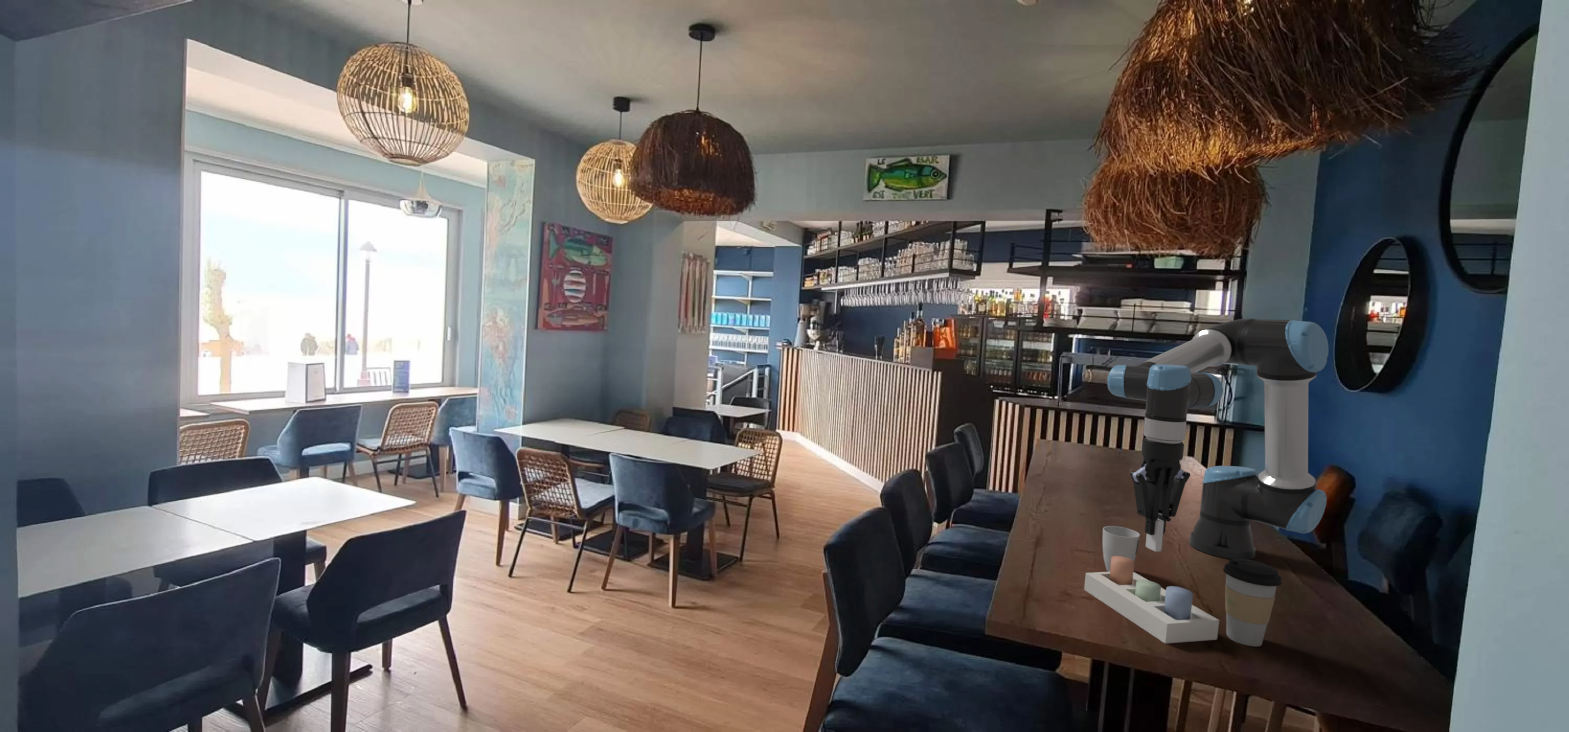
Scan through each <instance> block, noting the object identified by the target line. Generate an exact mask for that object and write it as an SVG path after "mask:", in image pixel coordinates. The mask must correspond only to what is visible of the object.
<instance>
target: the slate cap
mask: <svg viewBox="0 0 1569 732" xmlns="http://www.w3.org/2000/svg"><path fill="white" fill-rule="evenodd" d="M1165 588H1166V589H1165V590H1166V596H1165V605H1164V613H1165V614H1167V615H1168V616H1170V617H1172V618H1173V619H1176V620H1189V619H1190V617H1191V608H1192V605H1193V597H1194V594H1193V592H1192V591H1190V590H1189V589H1186V588H1183V587H1180V586H1175V585H1174V586H1173V585H1170V586H1167V587H1165Z"/></svg>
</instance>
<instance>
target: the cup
mask: <svg viewBox="0 0 1569 732" xmlns="http://www.w3.org/2000/svg"><path fill="white" fill-rule="evenodd" d="M1140 536H1141V534H1140V533H1139V532H1138V531H1136V530H1133V529H1130V528H1128V527H1124V526H1116V525H1108V526H1107V525H1106V526H1104V527H1103V528H1102V554H1103V555H1102V556H1103V562H1104V565H1105V569H1106V572H1110V567H1111V557H1113V556H1121V557H1126V558H1129V559H1131V560H1133V561H1134V562H1135V560H1136V556H1137V554H1138V549H1139V541H1140Z"/></svg>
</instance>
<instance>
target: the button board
mask: <svg viewBox="0 0 1569 732" xmlns="http://www.w3.org/2000/svg"><path fill="white" fill-rule="evenodd" d="M1109 577H1110V572H1109V571H1099V572H1098V571H1097V572H1095V571H1094V572H1085V577H1084V586H1083V587H1084V588H1083V590H1084V591H1086V593H1088V594H1090V595H1091V596H1093V597H1094V598H1096V599H1097V600H1099V601H1101V602H1102V603H1104V604H1105V605H1106V606H1108V607H1109V608H1111V609H1113V610H1114V611H1115V612H1117V613H1119V614H1120V615H1122V616H1123V617H1125V618H1126V619H1128V620H1129V621H1131V622H1132V623H1134V624H1135V625H1137V626H1138V627H1140V628H1141V629H1142V630H1144V631H1145V632H1147V633H1149V634H1150V635H1151V636H1153V637H1155V638H1156V639H1158V640H1159V641H1160V642H1162V643H1164V644H1175V643H1188V642H1202V641H1204V642H1205V641H1214V640H1215V641H1216V640H1218V635H1219V627H1220V626H1219V624H1220V619H1218V618H1216V617H1215V616H1213V615H1211V614H1209V613H1207V612H1206V611H1204V610H1202V609H1200V608H1199V607H1197V606H1195V605H1193V604H1192V608H1191V617H1190V619H1189V620H1176V619H1173V618H1172V617H1170V616H1168V615H1167V614H1165V613H1164V605H1165V596H1166V589H1164V588H1163V587H1161V592H1160V601H1152V602H1145V601H1144V600H1142V599H1140V598H1139V597H1137V596H1135V590H1136V581H1138V580H1147V581H1150V580H1148V579H1147V578H1145V577H1143V576H1142V575H1141V574H1138V573H1136V572H1135V571H1133V581H1132V585H1118V584H1116V583H1114V582H1112V581H1111V580H1109Z"/></svg>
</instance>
